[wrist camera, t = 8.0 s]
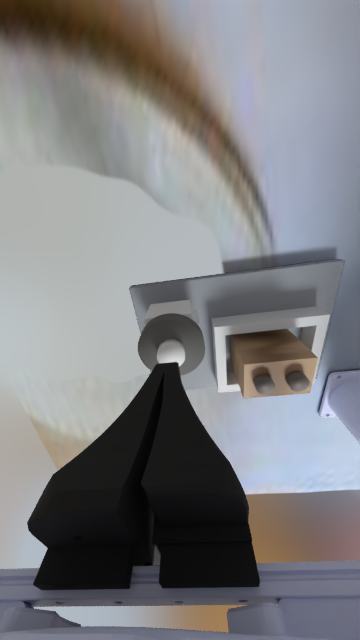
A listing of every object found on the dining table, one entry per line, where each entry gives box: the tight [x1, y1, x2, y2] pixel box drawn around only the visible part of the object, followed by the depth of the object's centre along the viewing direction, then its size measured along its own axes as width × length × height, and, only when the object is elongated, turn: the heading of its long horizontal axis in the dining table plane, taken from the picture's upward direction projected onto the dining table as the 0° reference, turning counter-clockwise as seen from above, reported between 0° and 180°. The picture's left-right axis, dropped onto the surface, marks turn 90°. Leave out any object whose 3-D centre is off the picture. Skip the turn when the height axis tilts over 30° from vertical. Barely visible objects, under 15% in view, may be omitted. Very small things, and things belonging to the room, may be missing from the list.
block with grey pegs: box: [231, 329, 318, 398], centre depth 18 cm, size 6×4×6 cm, turn 98°
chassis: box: [129, 259, 345, 393], centre depth 20 cm, size 20×14×4 cm
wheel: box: [138, 300, 205, 375], centre depth 15 cm, size 5×5×5 cm
